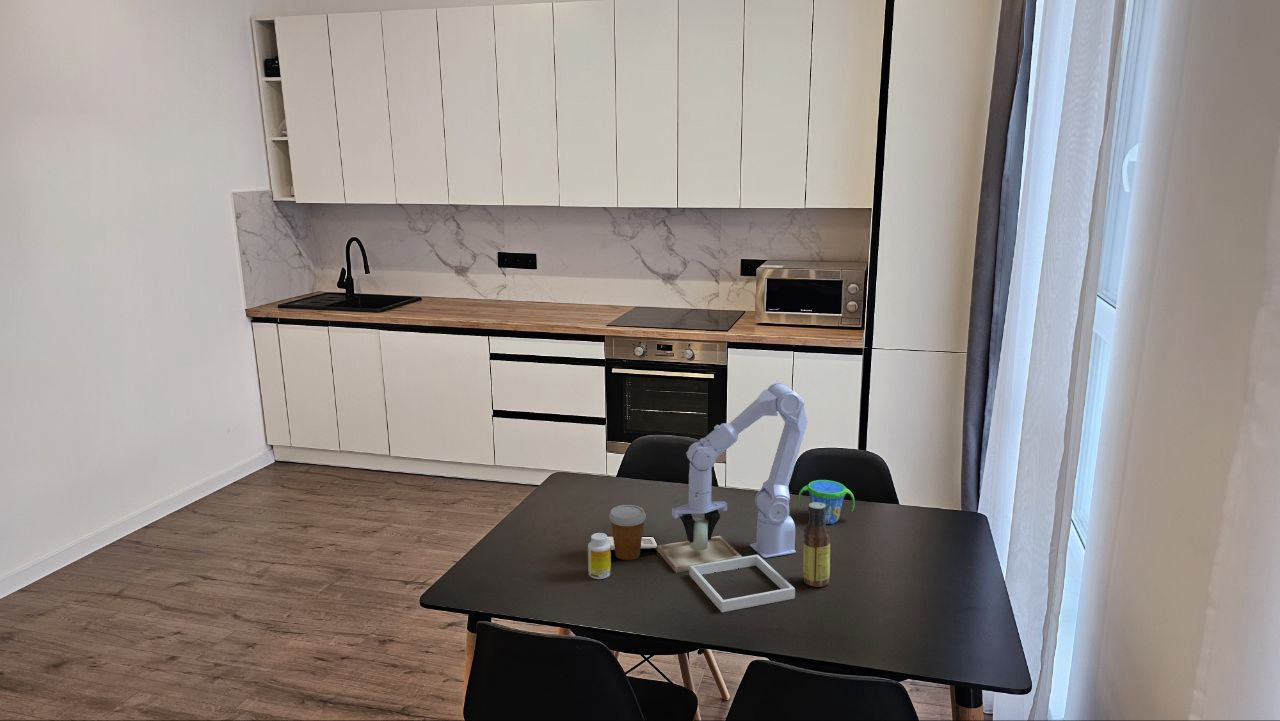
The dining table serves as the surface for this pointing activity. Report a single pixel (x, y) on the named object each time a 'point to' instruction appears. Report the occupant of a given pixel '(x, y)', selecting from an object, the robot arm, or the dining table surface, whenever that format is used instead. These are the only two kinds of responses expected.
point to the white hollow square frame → (746, 601)
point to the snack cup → (828, 497)
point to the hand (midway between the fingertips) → (699, 539)
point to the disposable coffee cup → (627, 530)
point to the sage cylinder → (700, 534)
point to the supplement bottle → (599, 556)
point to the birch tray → (696, 553)
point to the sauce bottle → (816, 547)
